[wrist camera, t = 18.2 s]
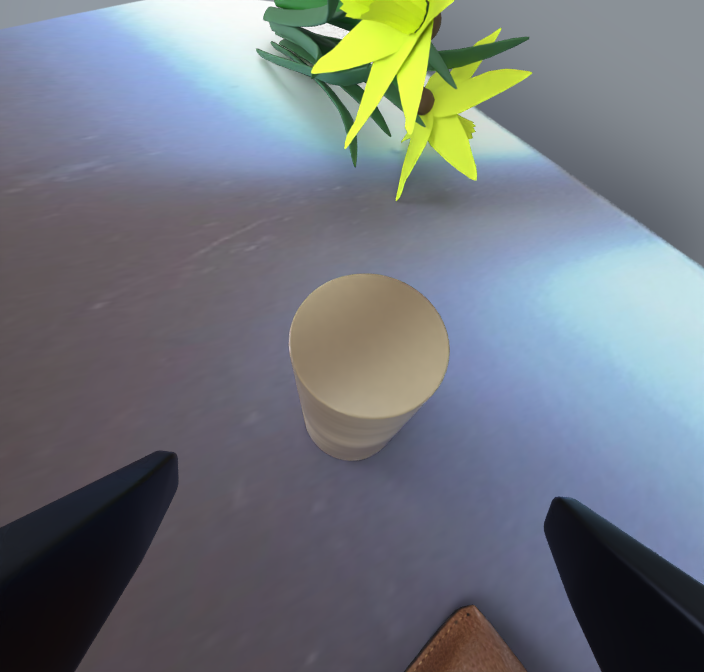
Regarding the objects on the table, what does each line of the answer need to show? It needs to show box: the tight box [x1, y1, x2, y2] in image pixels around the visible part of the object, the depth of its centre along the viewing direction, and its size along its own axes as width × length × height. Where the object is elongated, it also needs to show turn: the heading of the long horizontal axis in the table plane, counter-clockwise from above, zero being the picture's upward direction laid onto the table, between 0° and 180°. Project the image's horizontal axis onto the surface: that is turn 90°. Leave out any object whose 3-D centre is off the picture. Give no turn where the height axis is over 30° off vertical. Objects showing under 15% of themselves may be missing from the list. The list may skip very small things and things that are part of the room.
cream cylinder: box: [289, 274, 450, 461], centre depth 16 cm, size 6×6×10 cm
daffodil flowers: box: [256, 0, 532, 201], centre depth 27 cm, size 17×15×35 cm
